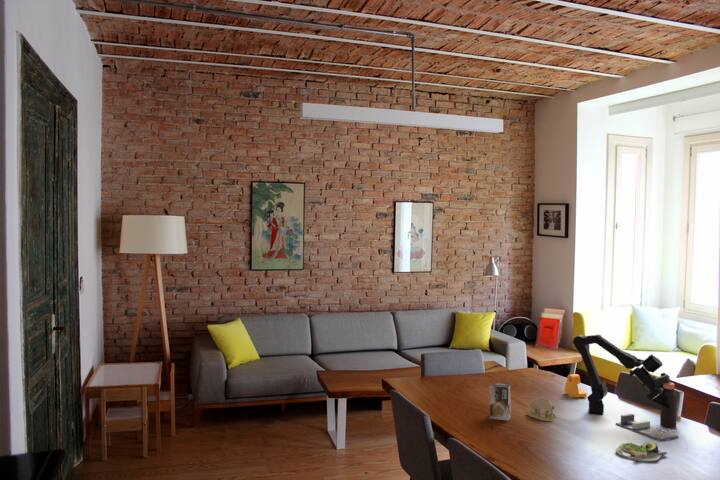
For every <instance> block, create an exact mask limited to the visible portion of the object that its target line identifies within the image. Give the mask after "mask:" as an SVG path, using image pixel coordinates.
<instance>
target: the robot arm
mask: <svg viewBox="0 0 720 480" xmlns="http://www.w3.org/2000/svg"><path fill="white" fill-rule="evenodd" d="M572 344H573V346H574V347H575V349H576V350H577V352H578V353H579V354H580V356H581V359H582V362H583V364H584V367H585V369H586V370H585V371H586V372H587V375H588V378H589V380H590V390H591V393H590V394H589V395H588V396H587V397H586V398H587V402H588V409H587V411H588V414H590V415H591V414H593V415H601V416H602V415H604V413H605V409H604V408H605V404H604V402H603V400H604V398H605V397H606V396H607V395H608V390H609V388H608V386H607V383H606V381H605V380H604V381H602V380H601V378H600V377H599V374H598V371H597V368H596V365H595V363H594V360H593V357H592V354H591V353H590V345H592V344H597V345H598V346H599V347H601V348H602V349H604V350H605V351H606V352H607V353H609V354H611V355H612V356H614V357H615V358H616V359H617V360H618V362H619V363H620V364H622V366H623V367H624V368H625V369H627V370H629V377H630V378H631V377H633V376H635V377H636V378H637V380H639V382H641V383H642V384H641V386H642V387H645V388H646V389H647V390H648V393H647V394H646V398H647V399H648V400H649V401H652V402H655V403H656V404H659V405H662V406H664V407H667V408H670V406H669V404H668V403H667V401H666V400H665V399H664V397H663V392H662V391H664V389H663V384H664V383H669V382H670V383H671V377H670V376H669V375H668V374H667V373H665V372H663V373H660V376H658V377H657V376H655V375H652V374H651V373H655V372H656V371H657V370H659V369H660V368H661V367H662V366H663V363H662V361H661V360H660V359H659V358H658V357H656V356H655V355H654V354H653V353H652V354H650V355H648V356H647V357H646V359H641V358H638V357H636V356H635V355H634V354H631V353H629V352H627V351H623V350H622V349H621V348H618V346H616V345H614V344H613V343H612V342H611V341H609V340H607V339H606V338H604V337H603V336H602V335H601V334H595V335H593V334H592V335H584V334H580V335H577V336H574V338H573V340H572ZM661 392H662V393H661Z"/></svg>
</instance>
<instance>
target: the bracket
mask: <svg viewBox="0 0 720 480" xmlns="http://www.w3.org/2000/svg"><path fill="white" fill-rule="evenodd" d="M580 383H581V377H580V374H577V373H573V374H568V375H567V378H566V382H565V385H564V393H565V394H566V395H567V396H568V397H571V398H587V397H588V396H587V395H588V393H587V392H585V391H583V390H581V389H579V388H578V387H579V386H578V385H579V384H580Z"/></svg>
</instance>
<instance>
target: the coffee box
mask: <svg viewBox="0 0 720 480" xmlns="http://www.w3.org/2000/svg"><path fill="white" fill-rule="evenodd" d="M511 385H512V384H507V383H499V382H498V383H497V382H492V383H491V384H490V386H489V419H490V420H491V419H492V420H499V421H510V419H511V416H512V415H511V405H512V404H511V403H512V402H511V396H512V395H511V394H512V393H511V389H512V387H511Z"/></svg>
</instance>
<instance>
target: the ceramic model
mask: <svg viewBox="0 0 720 480" xmlns="http://www.w3.org/2000/svg"><path fill="white" fill-rule="evenodd" d="M529 406H530V408H528V409H527V410H526V413H527V414H526V415H527V416H528V417H530V418H534V419H537V420H540V421H546V422H553V421H554V420H555V419H556V414H555V413H554V410H555V405H554V403H552V402H551V400H550V399H547V398H544V396H539V397H538V396H536V397H534V398H533V399H531V402H530V404H529Z"/></svg>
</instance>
